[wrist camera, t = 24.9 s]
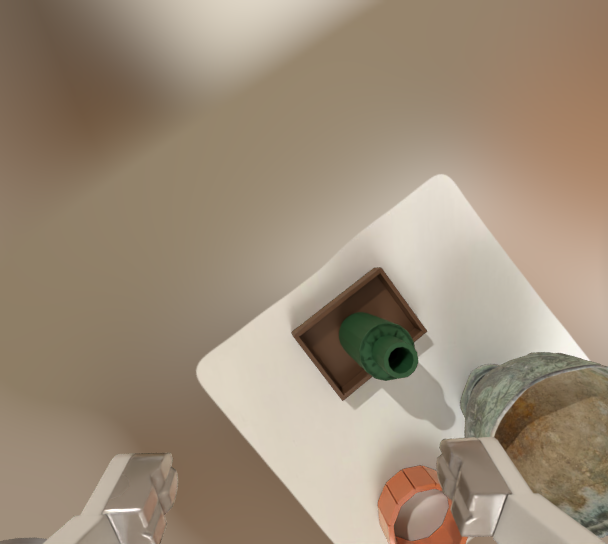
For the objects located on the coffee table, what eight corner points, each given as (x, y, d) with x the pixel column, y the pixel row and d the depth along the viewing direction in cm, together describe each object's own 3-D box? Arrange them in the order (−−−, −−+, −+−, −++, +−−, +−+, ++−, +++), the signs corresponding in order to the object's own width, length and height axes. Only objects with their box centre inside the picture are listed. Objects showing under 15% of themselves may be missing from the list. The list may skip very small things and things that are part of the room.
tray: (338, 393, 45) (342, 401, 42) (291, 332, 44) (292, 336, 42) (418, 328, 47) (427, 331, 44) (374, 267, 46) (381, 267, 43)
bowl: (401, 389, 46) (466, 444, 31) (499, 310, 48) (604, 326, 33) (474, 491, 48) (570, 590, 33) (566, 410, 50) (696, 469, 35)
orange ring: (383, 553, 46) (394, 580, 42) (373, 474, 46) (384, 493, 42) (456, 535, 47) (474, 559, 43) (447, 459, 47) (464, 476, 43)
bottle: (341, 360, 45) (374, 397, 31) (335, 315, 45) (366, 333, 31) (384, 352, 45) (434, 386, 32) (379, 309, 45) (426, 323, 32)
